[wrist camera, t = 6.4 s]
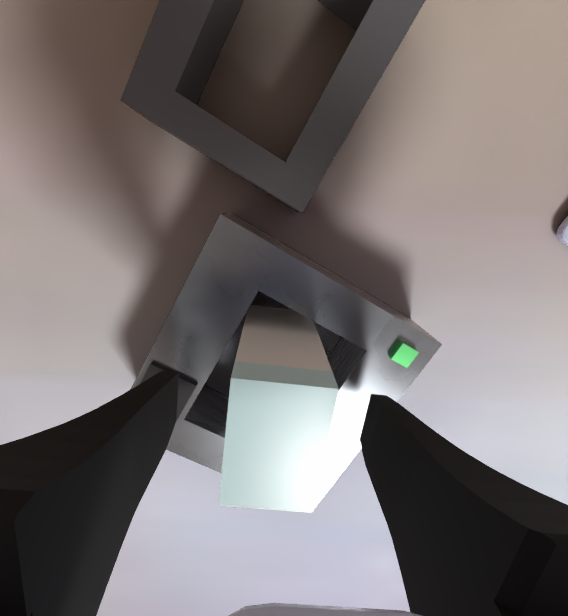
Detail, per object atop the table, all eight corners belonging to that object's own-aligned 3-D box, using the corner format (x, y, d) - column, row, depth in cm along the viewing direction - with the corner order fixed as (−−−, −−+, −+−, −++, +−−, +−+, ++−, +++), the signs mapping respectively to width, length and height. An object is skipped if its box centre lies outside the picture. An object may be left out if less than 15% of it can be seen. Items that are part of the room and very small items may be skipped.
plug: (310, 311, 16) (338, 389, 9) (296, 392, 17) (312, 512, 10) (248, 304, 15) (231, 377, 9) (239, 386, 17) (217, 505, 10)
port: (411, 319, 16) (445, 347, 13) (305, 464, 18) (312, 517, 15) (230, 212, 14) (219, 214, 11) (139, 388, 17) (108, 430, 13)
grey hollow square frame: (405, 23, 12) (437, -21, 10) (297, 212, 14) (302, 212, 12) (243, -107, 11) (235, -192, 9) (148, 119, 13) (120, 99, 11)
